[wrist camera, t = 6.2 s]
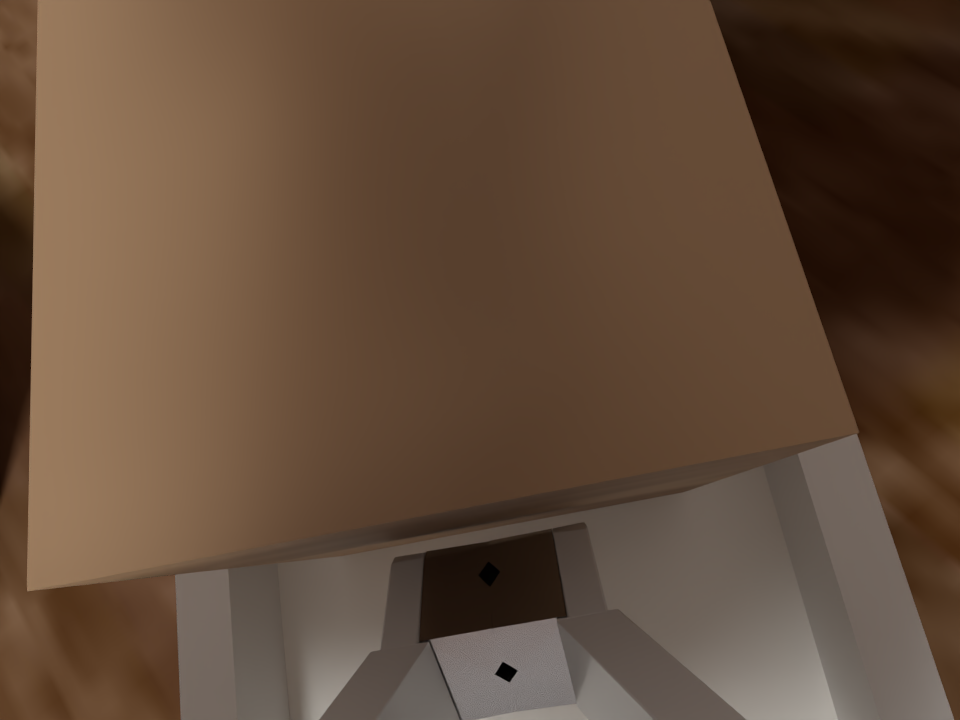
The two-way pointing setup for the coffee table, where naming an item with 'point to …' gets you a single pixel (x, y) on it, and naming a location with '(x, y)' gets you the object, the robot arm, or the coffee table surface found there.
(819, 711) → the track
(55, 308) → the walnut block
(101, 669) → the coffee table surface
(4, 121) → the coffee table surface
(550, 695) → the robot arm
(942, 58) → the coffee table surface
